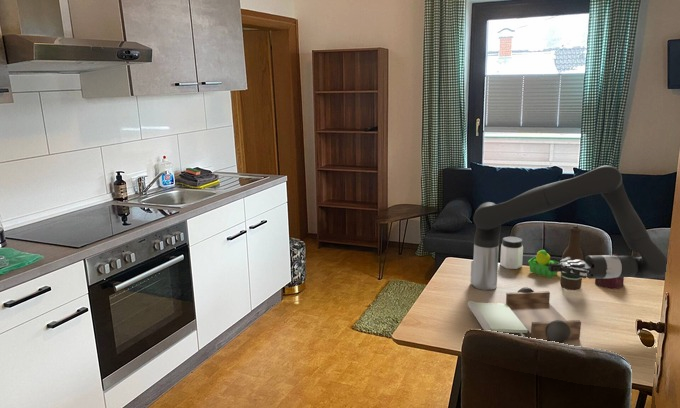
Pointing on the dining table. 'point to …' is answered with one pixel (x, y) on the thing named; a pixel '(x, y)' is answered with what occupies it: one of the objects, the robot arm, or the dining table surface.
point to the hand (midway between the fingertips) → (549, 267)
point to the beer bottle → (574, 254)
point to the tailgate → (496, 317)
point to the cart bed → (541, 316)
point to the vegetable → (610, 282)
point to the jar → (511, 252)
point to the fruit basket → (542, 264)
